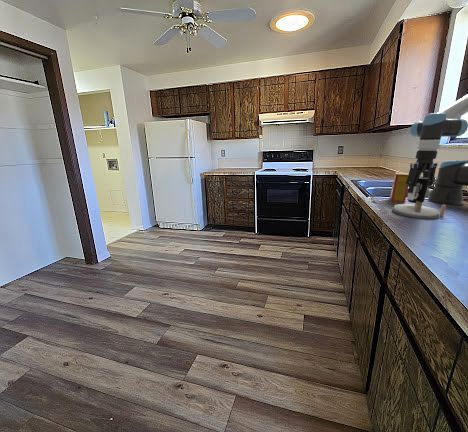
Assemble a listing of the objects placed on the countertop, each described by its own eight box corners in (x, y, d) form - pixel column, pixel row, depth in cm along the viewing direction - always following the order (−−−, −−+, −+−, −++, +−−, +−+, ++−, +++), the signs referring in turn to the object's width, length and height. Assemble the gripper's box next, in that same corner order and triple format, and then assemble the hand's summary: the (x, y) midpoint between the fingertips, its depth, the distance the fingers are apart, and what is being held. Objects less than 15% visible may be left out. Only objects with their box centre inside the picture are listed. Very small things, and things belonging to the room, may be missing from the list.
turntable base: (391, 206, 127) (393, 196, 126) (438, 212, 118) (441, 201, 116) (392, 215, 112) (395, 203, 111) (447, 222, 103) (450, 209, 102)
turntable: (392, 205, 126) (395, 194, 125) (434, 209, 118) (436, 198, 117) (394, 213, 112) (396, 201, 111) (441, 218, 104) (444, 206, 103)
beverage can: (426, 204, 114) (432, 178, 111) (410, 203, 116) (416, 178, 112) (419, 200, 121) (425, 176, 117) (404, 200, 122) (409, 176, 118)
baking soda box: (404, 203, 135) (410, 174, 130) (390, 201, 138) (396, 173, 133) (402, 199, 143) (408, 172, 138) (389, 198, 146) (395, 171, 141)
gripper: (435, 149, 117) (423, 196, 124) (403, 149, 112) (393, 198, 119) (452, 150, 110) (439, 199, 117) (418, 150, 105) (407, 202, 112)
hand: (415, 199), depth 118 cm, fingers closed on beverage can, 6 cm apart
